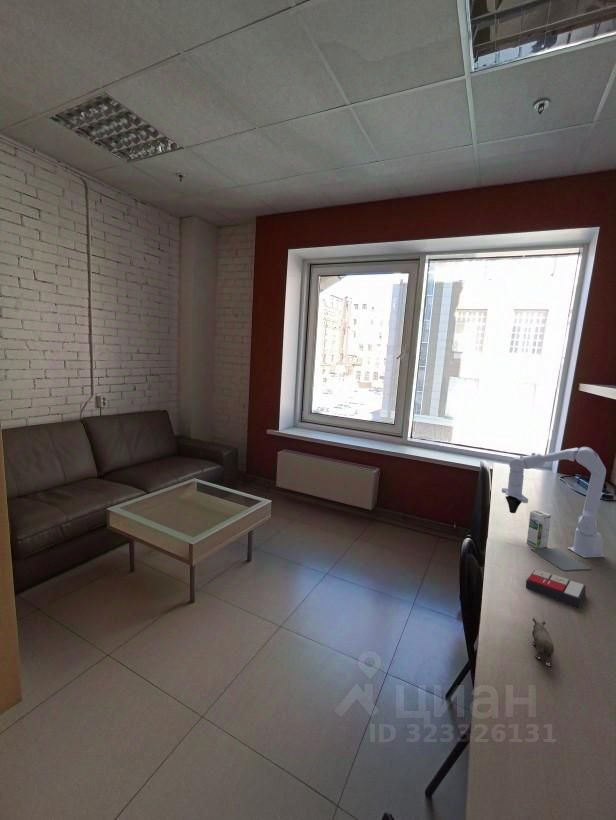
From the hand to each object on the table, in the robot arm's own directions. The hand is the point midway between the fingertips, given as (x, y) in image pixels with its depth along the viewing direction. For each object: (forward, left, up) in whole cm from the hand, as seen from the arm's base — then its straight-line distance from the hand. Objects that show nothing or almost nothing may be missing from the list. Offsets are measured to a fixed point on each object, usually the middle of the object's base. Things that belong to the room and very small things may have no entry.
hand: (512, 512), depth 167 cm
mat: (-4, +24, -10) cm, 26 cm away
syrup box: (-4, +12, -10) cm, 16 cm away
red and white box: (+16, +43, -10) cm, 47 cm away
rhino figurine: (+41, +66, -10) cm, 78 cm away
